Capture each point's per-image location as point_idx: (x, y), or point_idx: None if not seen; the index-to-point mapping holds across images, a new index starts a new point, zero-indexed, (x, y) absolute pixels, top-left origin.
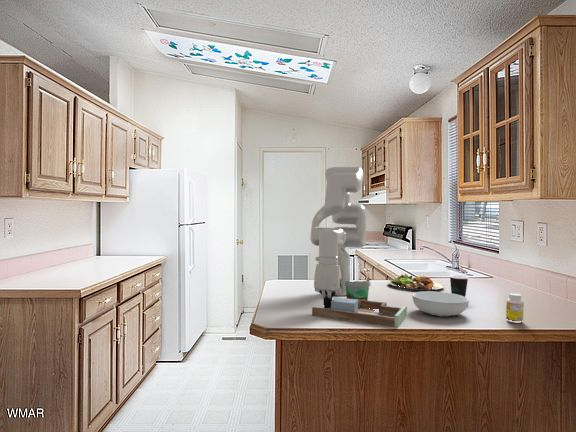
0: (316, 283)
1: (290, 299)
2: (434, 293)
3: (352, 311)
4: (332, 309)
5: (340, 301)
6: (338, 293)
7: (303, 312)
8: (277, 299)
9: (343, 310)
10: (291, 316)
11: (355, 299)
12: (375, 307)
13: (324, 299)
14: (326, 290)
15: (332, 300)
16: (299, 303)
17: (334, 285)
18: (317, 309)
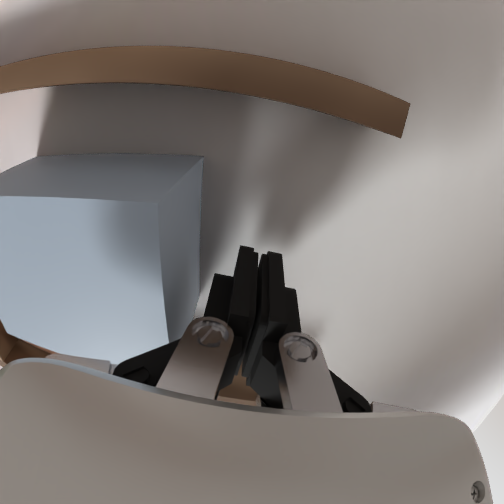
0: (467, 496)
1: (442, 407)
2: None
3: (16, 170)
4: (173, 169)
5: (53, 227)
6: (70, 361)
7: (442, 200)
8: (485, 387)
9: (70, 166)
10: (500, 75)
11: (16, 333)
12: (38, 356)
13: (285, 310)
14: (244, 406)
15: (153, 252)
16: (425, 379)
17: (6, 456)
18: (341, 78)
